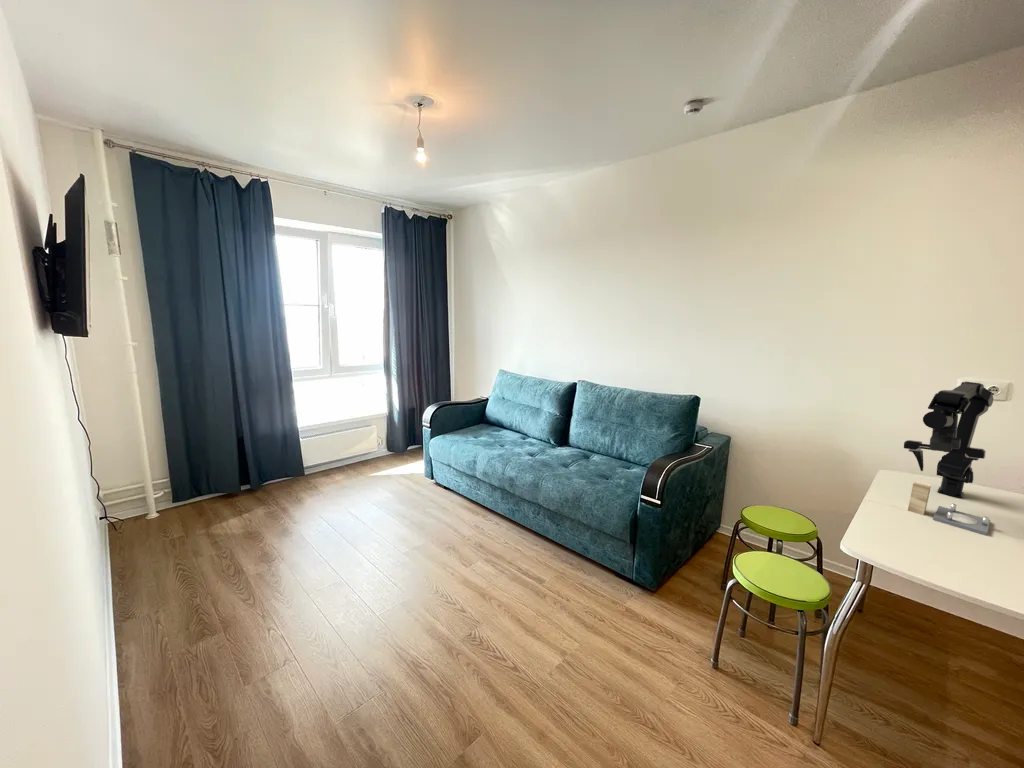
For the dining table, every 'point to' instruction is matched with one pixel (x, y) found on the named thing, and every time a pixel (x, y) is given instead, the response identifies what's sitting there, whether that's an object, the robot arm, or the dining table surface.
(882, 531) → the dining table surface
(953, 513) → the plate
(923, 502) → the maple block
